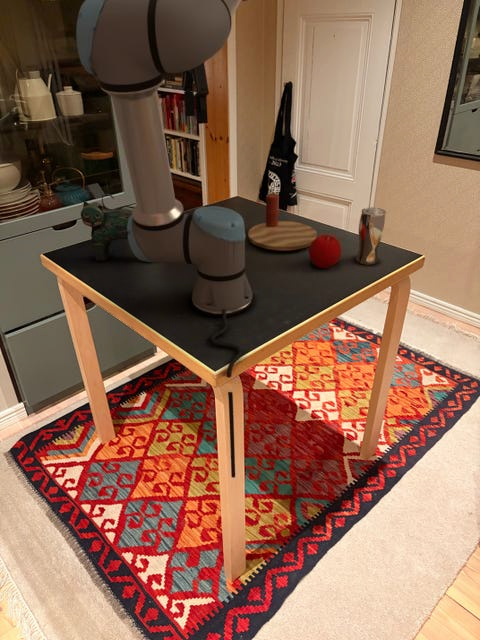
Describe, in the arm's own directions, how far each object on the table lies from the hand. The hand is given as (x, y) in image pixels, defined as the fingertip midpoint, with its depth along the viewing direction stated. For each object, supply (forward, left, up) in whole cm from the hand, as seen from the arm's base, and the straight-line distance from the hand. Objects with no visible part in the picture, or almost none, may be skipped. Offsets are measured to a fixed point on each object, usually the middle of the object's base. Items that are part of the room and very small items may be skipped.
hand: (196, 119), depth 132 cm
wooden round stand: (-9, -24, -35) cm, 44 cm away
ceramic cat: (-5, +26, -37) cm, 45 cm away
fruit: (-30, -28, -37) cm, 55 cm away
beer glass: (-32, -41, -37) cm, 64 cm away
